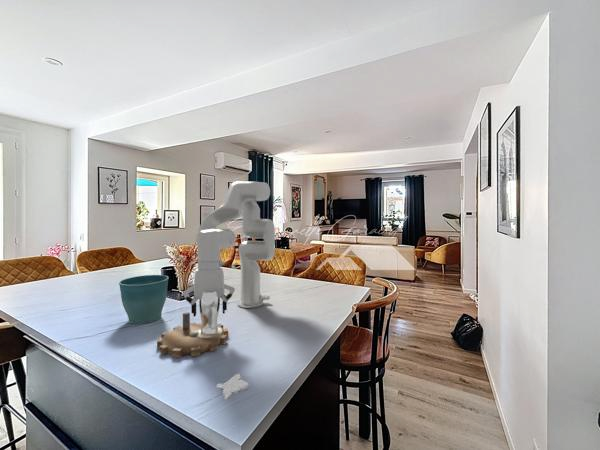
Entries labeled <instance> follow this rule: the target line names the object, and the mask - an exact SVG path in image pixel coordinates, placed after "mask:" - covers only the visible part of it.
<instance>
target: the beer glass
mask: <svg viewBox="0 0 600 450" xmlns="http://www.w3.org/2000/svg"><path fill="white" fill-rule="evenodd" d="M198 300H199V301H198V306H199V307H198V308H199V314H200V320H201V324H202V325H201V331H200V334H201V335H204V336H209V335H214V334H216V333H218V325H217V324H218V319H219V318H218V317H219V313H220V305H221V298H218V297H217V293H216V291H214V292H203V295H202V298H201V299H198Z"/></svg>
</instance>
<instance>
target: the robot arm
mask: <svg viewBox="0 0 600 450" xmlns="http://www.w3.org/2000/svg"><path fill="white" fill-rule="evenodd" d="M270 195H271V188H270V185H269V184H268V183H267V182H263V181H262V182H261V181H253V180H252V181H235V182H232V183H231V184H230V185H229V187H228V189H227V191H226V194H225V196H224V199H223V201H222V203H221V205H220V206H219V207H217V208H215V209H214V210H213V211H211V212H210V213H209V214H208V215H207V216H205V217H204V218H203V220H202V222H201V224H200V225H199V228H198V230H197V233H196V237H195V238H196V240H195V241H196V244H197V268H196V269H195V271H194V279H193V286H191V287H190V288H187V289H185V290H184V291H183V292H182V296H183V297H184V299H185V300H186V301H187V302H188V304H190V306H191V307H190V308H191V314H192V315H193V317H196V316H197V301H198V300H199V299H201V298H202V295H203V292H214V291H216V293H217V297H218V298H220V300H222V314H224V315H225V314H226V312H225V311H228V308H227V307H228V303H227V302H228V301H229V300H230V299H231V298H232V296H233V294H234V292H235V291H236V290H235V288H234V287H233V286H230V285H227V284H225V276H224V275H225V274H224V270H223V268H222V267H223V266H225V263H226V262H225V261H222V260H221V250H227V249H231V248H232V247H233V246H235V243H236V241H237V240H236V239H237V237H236V233H235V232H234V230H232V229H230V228H229V229H228V228H217V227H219V226H220V225H222V224H225V223H227V222H230V221H233V220H236V219H237V218H239V217H240V216H241V214H242V225H241V226H242V229H241V231H242V234H243V235H242V236H244V237H245V238H248V239H263V241H262V240H245V241H242V242H241V243H239V245H238V255H239V261H240V300H238V301H237V306H238V307H240V308H243V309H252V308H258V307H261V306H263V305H264V300H266V301H269V300H270V295H266V294H265V295H262V294H261V268H260V265H259V263H258V262H257V261H262V262H264V261H266V262H267V261H272V260H273V259H274V256H275V249H276V248H275V243H276V241H275V239H276V237H275V236H276V233H275V232H276V229H275V228H276V227H275V223H274V222H273V220H271V219H269V218H261V208H260V206H259V204H258V203H257V202H263V201H267V200H269V198H270ZM225 290H227V291H229V292H228V294H225ZM191 292H193V297H191V296H190V295H189V294H190V293H191Z"/></svg>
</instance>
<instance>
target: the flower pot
mask: <svg viewBox="0 0 600 450" xmlns="http://www.w3.org/2000/svg"><path fill="white" fill-rule="evenodd" d="M168 283H169V276H168V275H163V274H148V275H147V274H145V275H139V276H138V275H137V276H132V277H128V278H124V279H121V280H119V281H118V285H119V290H120V297H121V303H122V306H123V309H124V310H125V311H124V312H125V313H126V315H127V317H128V318H127V319H128V323H130V324H133V325H143V324H144V325H145V324H148V323H152V322H155V321H157V320H159V319H160V318H161V317H162V312H163V310H164V309H163V308H164V306H165V303H166V300H167V295H168V285H169V284H168Z"/></svg>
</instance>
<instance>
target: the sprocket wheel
mask: <svg viewBox="0 0 600 450" xmlns="http://www.w3.org/2000/svg"><path fill="white" fill-rule="evenodd" d="M201 325H202V323H197V322H191V314H190V312H187V311H186V312H182V325H177V326H175V327H173V329H172V330H170V331H164V332H163V333H161V337H160V338H157V339H156V348H157V349H158V350H159V354H161V355H166V354H171V357H172V358H181V357H182V356H189V355H190V356H191V357H196V356H201V353H205V352H207V351H209V352H213V351H217V350H218V348H219V347H218V346H219V345H222V344H223V345H224V344H226V343H227V341H228V337H229V329H228V328H227V327H226V328H224V325H223V324H221V323H217V325H218V333H216V334H214V335H209V336H204V335H201V334H200V331H201Z"/></svg>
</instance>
